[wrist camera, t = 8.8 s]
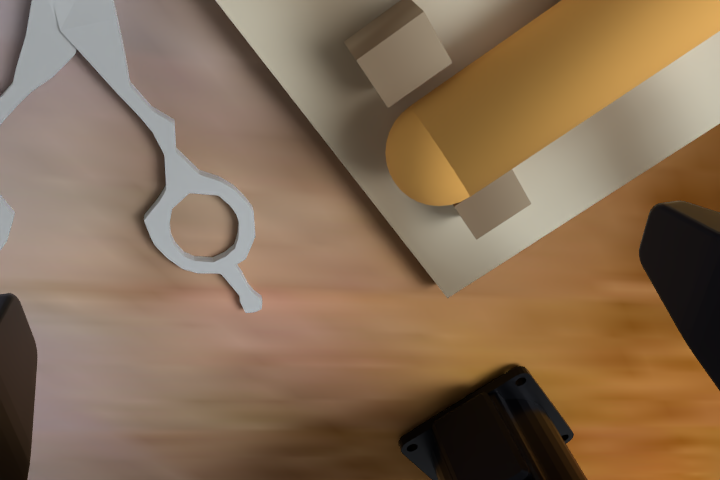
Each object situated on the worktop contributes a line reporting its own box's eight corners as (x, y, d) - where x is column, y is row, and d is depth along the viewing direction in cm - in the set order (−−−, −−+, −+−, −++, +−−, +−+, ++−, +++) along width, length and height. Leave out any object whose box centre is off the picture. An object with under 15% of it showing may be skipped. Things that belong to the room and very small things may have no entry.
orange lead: (842, -224, 17) (957, -222, 14) (851, -112, 18) (954, -95, 16) (354, 121, 19) (382, 172, 16) (404, 190, 20) (436, 245, 18)
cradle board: (837, -496, 14) (933, -534, 12) (869, 6, 22) (931, 26, 20) (209, -14, 16) (215, 12, 15) (440, 284, 24) (461, 324, 23)
